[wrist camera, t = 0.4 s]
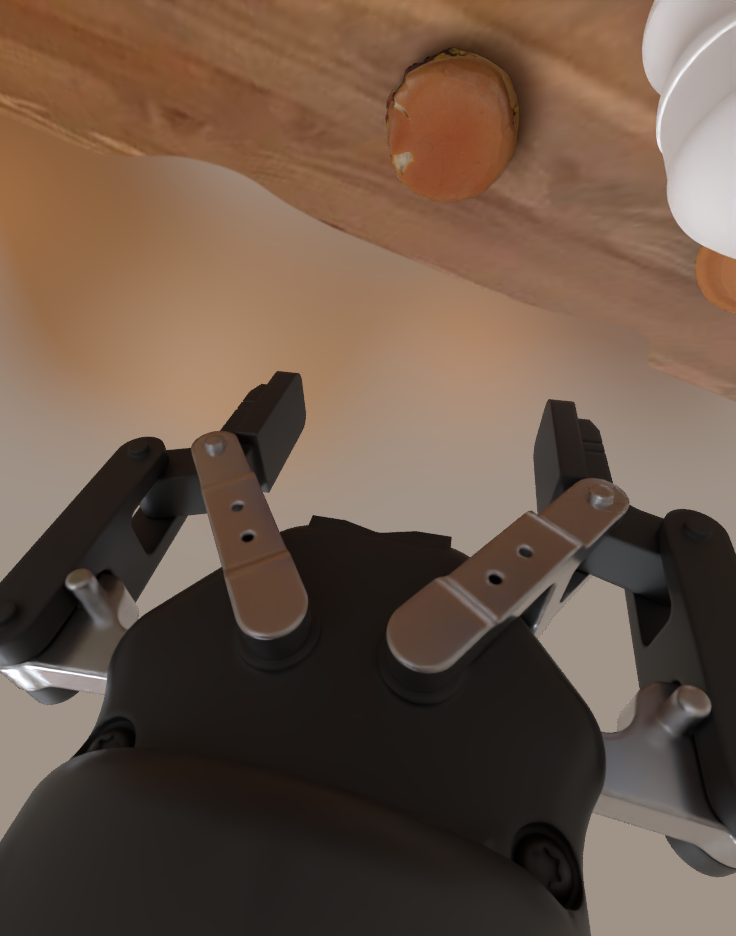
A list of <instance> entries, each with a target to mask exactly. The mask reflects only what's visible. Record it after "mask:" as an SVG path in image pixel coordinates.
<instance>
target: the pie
mask: <svg viewBox="0 0 736 936" xmlns="http://www.w3.org/2000/svg"><path fill="white" fill-rule="evenodd" d="M695 267H696V278H697V283H698V285H699V286H700V288H701V290H702V292H703V294H704V295H705V297H706V299H707V300H708V301H710V302H712V303H713V304H715V305H717V306H718V307H720V308H722V309H723V310H726V311H730V312H735V313H736V259H734V258H731V257H728V256H725V255H723V254H720V253H718V252H716V251H713V250H711V249H709V248H707V247H705V246H703V245H702V246H701V249H700V251H699V254H698V256H697V258H696V261H695Z"/></svg>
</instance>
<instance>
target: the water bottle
mask: <svg viewBox="0 0 736 936" xmlns="http://www.w3.org/2000/svg"><path fill="white" fill-rule="evenodd" d="M642 58H643V65H644V69H645V73H646V76H647V78H648V80H649V82H650V84H651V85H652V87H653V88H654V89H655V90H656V91H657V92H658V93H659V94H660V95H661V97H660V101H659V105H658V110H657V117H656V137H657V144H658V147H659V149H660V151H661V152H662V154H663V158H664V164H665V169H666V175H667V180H668V183H667V199H668V203H669V206H670V209H671V212H672V215H673V216H674V218H675V220H676V222H677V224H678V225H679V226H680V228H681V229H682V230H683V231H684V232H685V233H686V234H687V235H688V236H689V237H690V238H692V239H693V240H694V241H696V242H698V243H699V244H701V245H703V246H705V247H707V248H709V249H711V250H713V251H716V252H718V253H720V254H723V255H725V256H728V257H731V258H734V259H736V0H654V3H653V5H652V7H651V9H650V12H649V16H648V19H647V22H646V26H645V29H644V35H643V43H642Z"/></svg>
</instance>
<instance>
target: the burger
mask: <svg viewBox="0 0 736 936" xmlns="http://www.w3.org/2000/svg"><path fill="white" fill-rule="evenodd" d="M386 108H387V114H386V124H387V129H388V143H389V149H390V156H391V160H392V162H393V165H394V169H395V173H396V175H397V177H398V178H399V180H400V181H401V182H402V183H403V184H404V185H405V187H407V188H408V189H410V190H411V191H413V192H414V193H416V194H417V195H419V196H422V197H425V198H427V199H430V200H433V201H439V202H452V201H461V200H465V199H469V198H473V197H475V196H477V195H479V194H480V193H482V192H484V191H485V190H487V189H488V188H489V187H490V186H491V185H492V184H493V183H494V182H495V181H496V180H497V179H498V178H499V177H500V175H501V174H502V173H503V171H504V170H505V168H506V167H507V165H508V163H509V162H510V160H511V157H512V155H513V152H514V149H515V147H516V140H517V131H518V124H519V105H518V100H517V96H516V93H515V90H514V87H513V84H512V81H511V79H510V77H509V75H508V74H507V73H506V72H505V71H504V70H503V69H501V68H500V67H498V66H497V65H496V64H494V63H492V62H491V61H489V60H487V59H485V58H483V57H481V56H479V55H476V54H473V53H470V52H467V51H463V50H460V49H456V48H448V49H446V50H443V51H442V52H440V53H438V54H437V55H434V56H432V57H427V58H426V59H425V60H424V61H423V62H421V63H414V64H413V65H412V66H409V67H408V68H407V69H406V71H405V75H404V80H403V82H402V84H401V86H400V87H399V89H398V90H397V92H396V90H395V89H394V90H393V91H392V92H391V93H390V95H389V97H388V100H387V106H386Z"/></svg>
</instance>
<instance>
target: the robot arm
mask: <svg viewBox="0 0 736 936" xmlns="http://www.w3.org/2000/svg"><path fill="white" fill-rule="evenodd" d="M305 420H306V410H305V402H304V394H303V386H302V379H301V376H300V374H299V373H291V372H281V371H277V372H276V373H275V374H274V376H273V377H272V379H271V380H270V381H269V383H268V384H261V385H259V386H258V387H256V388H254V389H253V390H251V391H250V392H249V393H248V395H247V396H246V397H245V399H244V400H243V402H241V404H240V405H239V406H238V409H237V410H235V412H234V413H233V414H232V416H231V417H230V418H229V420H228V421H227V422H226V424H225V425H224V426H223V428H222V429H221V430H220V431H214V432H210V433H207V434H205V435H202V436H201V437H199V438H198V439H196V440H195V441H194V443H193V444H192V446H191V448H186V449H175V450H166V448H165V445H164V443H163V441H161V440H160V439H158V438H155V437H141V438H137V439H134V440H131V441H129V442H127V443H125V444H124V445H122V446H121V447H120V448H119V449H118V450H117V451H116V452H115V453H114V455H113V456H112V457H111V458H110V459H109V460H108V461H107V462H106V464H105V465H104V466H103V467H102V468H101V469H100V470H99V471H98V473H97V474H96V475H95V476H94V477H93V478H92V479H91V481H90V482H89V483H88V484H87V485H86V486H85V487H84V488H83V490H82V491H81V492H80V493H79V494H78V495H77V496H76V498H75V499H74V500H73V501H72V502H71V503H70V504H69V506H68V507H67V508H66V509H65V510H64V511H63V512H62V514H61V515H60V516H59V517H58V518H57V519H56V520H55V521H54V523H53V524H52V525H51V526H50V527H49V528H48V529H47V530H46V532H45V533H44V534H43V535H42V536H41V538H39V540H38V541H37V542H36V543H35V544H34V545H33V546H32V547H31V549H30V550H29V551H28V552H27V553H26V554H25V555H24V556H23V558H22V559H21V560H20V561H19V562H18V563H17V564H16V566H15V567H14V568H13V569H12V570H11V571H10V572H9V573H8V575H7V576H6V577H5V578H4V579H3V581H1V583H0V673H1V674H2V675H4V676H5V677H6V678H7V679H8V680H10V681H11V682H12V683H13V684H15V685H16V686H17V687H18V688H19V689H22V690H25V691H26V692H27V693H28V694H30V695H31V696H32V697H33V698H34V699H35V700H37V701H38V702H39V703H42V704H46V705H53V704H58V703H61V702H64V701H66V700H68V699H69V698H71V697H73V696H74V695H75V694H77V693H78V692H79V691H83V692H89V693H95V694H102V695H105V697H104V701H103V705H102V708H101V712H100V714H99V717H98V720H97V722H96V725H95V727H94V729H93V731H92V733H91V735H90V736H89V738H88V739H87V741H86V742H85V743H84V744H83V746H82V747H81V748H80V749H79V750H78V752H77V753H76V754H75V755H74V756H73V757H72V758H71V759H70V760H69V761H67V762H65V763H63V764H62V765H60V766H59V767H58V768H56V769H55V770H53V771H52V772H51V773H50V774H49V775H48V776H47V777H46V778H44V779H43V780H42V781H41V782H40V783H39V785H38V786H37V787H36V788H35V789H34V791H33V792H32V793H31V795H30V797H29V798H28V800H27V801H26V803H25V804H24V806H23V807H22V809H21V811H20V812H19V814H18V815H17V817H16V818H15V820H14V821H13V823H12V824H11V826H10V828H9V829H8V831H7V832H6V834H5V835H4V837H3V839H2V840H1V842H0V936H591V934H590V926H589V918H588V910H587V903H586V896H585V889H584V881H583V850H584V842H585V835H586V831H587V827H588V824H589V820H590V817H591V814H592V813H595V814H599V815H602V816H605V817H608V818H612V819H615V820H618V821H621V822H624V823H628V824H631V825H634V826H638V827H641V828H644V829H647V830H650V831H654V832H657V833H660V834H663V835H665V836H666V839H667V841H668V842H669V844H670V845H671V847H672V848H673V849H674V851H675V852H676V853H677V854H678V855H679V857H681V859H683V860H684V861H685V862H686V863H687V864H688V865H690V866H691V867H692V868H694V869H695V870H697V871H699V872H701V873H703V874H705V875H709V876H714V877H724V876H727V875H730V874H733V873H735V872H736V553H735V551H734V548H733V546H732V543H731V541H730V538H729V535H728V533H727V532H726V530H725V529H724V528H723V527H722V526H721V525H720V524H719V523H718V522H717V521H715V520H714V519H712V518H710V517H709V516H707V515H705V514H702V513H700V512H697V511H693V510H687V509H677V510H673V511H671V512H669V513H668V514H667V515H666V516H665V518H664V519H663V518H660V517H658V516H655V515H652V514H649V513H646V512H644V511H641V510H639V509H636V508H635V507H632V506H631V505H629V499H628V497H627V495H626V494H625V492H624V491H623V490H622V489H620V488H619V487H618V486H616V485H614V484H613V481H612V478H611V474H610V470H609V466H608V462H607V458H606V454H604V452H605V450H604V447H603V444H602V439H601V435H600V431H599V430H598V429H597V427H596V426H595V425H594V424H593V423H592V422H591V421H590V420H587V419H578V417H577V412H576V407H575V403H574V402H571V401H561V400H551V399H549V400H548V401H547V403H546V406H545V409H544V413H543V416H542V420H541V423H540V427H539V430H538V434H537V437H536V441H535V446H534V471H535V485H536V498H537V511H538V515H537V514H536V513H534V512H533V511H528V512H526V513H525V514H523V515H522V516H521V517H520V518H518V519H517V520H516V521H515V522H513V523H512V524H511V525H510V526H509V527H508V528H506V529H505V530H504V531H503V532H501V533H500V534H499V535H497V536H496V537H495V538H494V539H493V540H491V541H490V542H489V543H488V544H486V545H485V546H484V547H483V548H481V549H480V550H479V551H478V552H477V553H475V554H474V555H473V556H472V557H469V556H467V555H465V554H464V553H462V552H460V551H458V550H456V549H453V548H451V538H452V537H449V536H443V535H437V534H430V533H423V532H417V531H412V532H392V533H378V532H375V531H372V530H369V529H367V528H364V527H361V526H359V525H356V524H354V523H351V522H348V521H346V520H340V519H334V518H327V517H320V516H314V515H313V516H312V519H311V521H310V523H309V525H306V526H299V527H294V528H290V529H287V530H284V531H281V532H279V530H278V527H277V525H276V523H275V520H274V518H273V516H272V513H271V511H270V508H269V506H268V504H267V501H266V499H265V497H264V494H263V492H270V490H271V488H272V486H273V484H274V483H275V481H276V479H277V477H278V475H279V473H280V471H281V470H282V468H283V466H284V464H285V462H286V460H287V458H288V457H289V455H290V453H291V451H292V449H293V447H294V445H295V444H296V442H297V440H298V438H299V436H300V434H301V432H302V430H303V428H304V425H305ZM138 505H140V508H139V509H138V511H137V512H136V513H135V515H134V516H133V517H132V515H133V513H134V511H135V509H136V508H137V507H138ZM205 513H207V514H208V518H209V521H210V525H211V528H212V532H213V536H214V539H215V543H216V547H217V550H218V554H219V557H220V561H221V564H222V567H221V568H219V569H218V570H216V571H214V572H213V573H211V574H209V575H208V576H206V577H204V578H203V579H201V580H200V581H198V582H196V583H195V584H193V585H191V586H190V587H188V588H187V589H185V590H183V591H182V592H180V593H178V594H177V595H175V596H174V597H172V598H170V599H169V600H167V601H165V602H164V603H162V604H161V605H159V606H157V607H156V608H154V609H152V610H151V611H149V612H148V613H146V614H145V615H143V616H142V617H141V618H140V619H138V616H139V610H138V607H137V605H136V601H137V599H138V598H139V596H140V594H141V593H142V591H143V589H144V588H145V586H146V584H147V583H148V581H149V579H150V578H151V576H152V574H153V573H154V571H155V569H156V568H157V566H158V564H159V563H160V561H161V560H162V558H163V556H164V555H165V553H166V551H167V549H168V548H169V546H170V544H171V543H172V541H173V540H174V538H175V536H176V535H177V533H178V531H179V530H180V528H181V526H182V525H183V523H184V521H185V519H186V518H187V516H188V515H196V514H205ZM592 576H595V577H598V578H600V579H602V580H605V581H607V582H610V583H612V584H614V585H617V586H619V587H621V588H624V589H625V596H626V602H627V609H628V615H629V622H630V628H631V635H632V641H633V648H634V655H635V661H636V668H637V675H638V681H639V687H640V690H639V691H638V692H637V694H636V695H635V696H634V697H633V698H632V699H631V700H630V702H629V703H628V704H627V705H626V706H625V707H624V708H623V710H622V711H621V712H620V714H619V718H618V725H617V732H613V733H605V732H601V731H600V728H599V726H598V723H597V721H596V719H595V717H594V715H593V713H592V712H591V710H590V708H589V707H588V705H587V704H586V703H585V701H584V700H583V698H582V697H581V696H580V694H579V693H578V692H577V690H576V689H575V688H574V686H573V685H572V684H571V683H570V681H569V680H568V679H567V677H566V676H565V675H564V673H563V672H562V671H561V669H560V668H559V667H558V665H557V664H556V663H555V661H554V660H553V659H552V657H551V656H550V655H549V654H548V652H547V651H546V650H545V648H544V647H543V646H542V644H541V643H540V642H539V640H538V638H539V636H540V635H541V634H542V633H543V632H544V630H545V629H546V628H547V626H548V625H549V623H550V622H551V620H552V619H553V617H554V616H555V615H556V614H557V613H558V611H559V610H560V609H561V608H562V607H563V606H564V605H565V604H566V603H567V602H568V601H569V600H570V599H571V598H572V597H573V596H574V595H575V594H576V593H577V592H578V590H580V588H581V587H582V586H583V585H584V584H585V583H586V582H587V581H588V580H589V579H590V578H591V577H592Z"/></svg>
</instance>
